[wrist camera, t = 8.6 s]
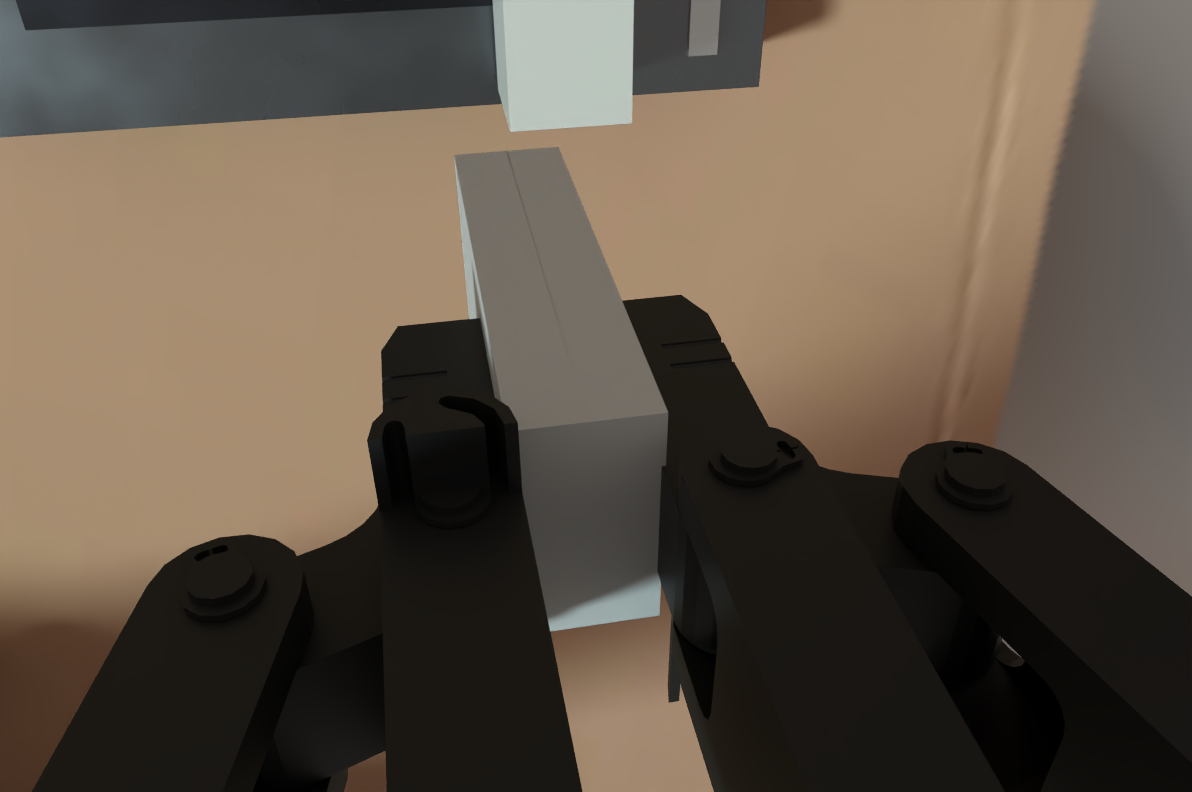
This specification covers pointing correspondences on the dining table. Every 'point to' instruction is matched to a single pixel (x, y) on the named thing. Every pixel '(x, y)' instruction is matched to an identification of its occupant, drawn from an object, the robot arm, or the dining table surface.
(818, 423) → the dining table surface
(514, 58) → the block
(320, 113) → the fader console
